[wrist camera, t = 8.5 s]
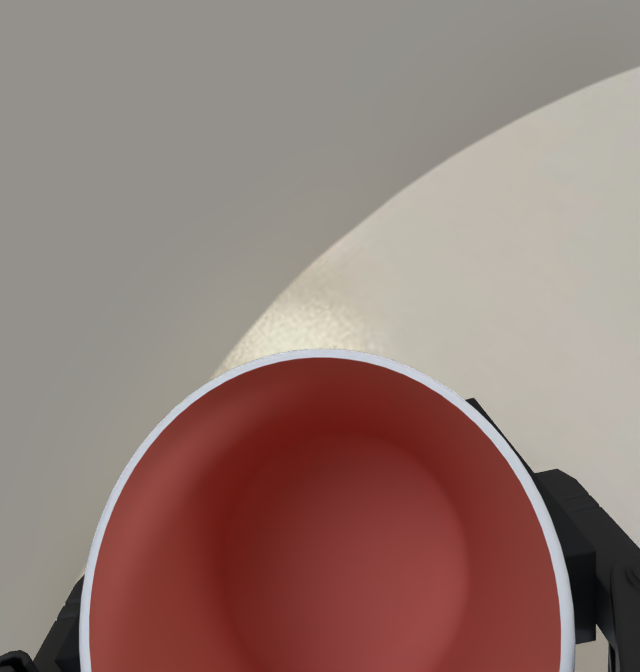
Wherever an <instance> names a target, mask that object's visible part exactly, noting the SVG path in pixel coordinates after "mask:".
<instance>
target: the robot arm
mask: <svg viewBox="0 0 640 672" xmlns="http://www.w3.org/2000/svg"><path fill="white" fill-rule="evenodd" d="M465 401H466V402H468V403H469V404H470V405H471V406H472V407H474V408H475V409H476V410H477V411H478V412H479V413H480V414H481V415H482V416H483V417H484V418H485V419H486V420H487V421H488V422H489V423H490V424H491V425H492V426H493V427H494V428H495V429H496V430H497V431H498V433H499V434H500V435H501V436H502V437H503V438H504V439H505V441H506V442H507V443H508V445H509V446H510V447H511V449H512V450H513V451H514V453H515V454H516V455H517V457H518V458H519V459H520V461H521V463H522V464H523V466H524V467H525V469H526V470H527V472H528V473H529V475H530V477H531V478H532V480H533V482H534V484H535V486H536V488H537V489H538V491H539V493H540V495H541V497H542V499H543V501H544V504H545V506H546V508H547V510H548V512H549V515H550V517H551V520H552V522H553V525H554V528H555V531H556V534H557V537H558V539H559V542H560V545H561V548H562V552H563V556H564V560H565V564H566V568H567V572H568V576H569V582H570V589H571V595H572V601H573V608H574V624H575V640H576V642H575V644H580V643H585V642H590V641H595V640H596V624H597V625H598V627H599V628H600V630H601V631H602V633H603V634H604V636H605V637H606V639H607V640H608V642H609V653H608V672H640V548H639V547H638V546H637V545H636V544H635V543H634V542H633V541H632V540H631V539H630V538H629V537H628V535H627V534H626V533H625V532H624V531H623V530H622V529H621V528H620V527H619V526H618V525H617V524H616V522H615V521H614V520H613V519H612V518H611V517H610V516H609V515H608V514H607V513H606V512H605V511H604V509H603V508H602V507H599V504H598V503H597V502H596V501H595V500H594V499H593V498H592V496H589V494H588V492H587V491H586V490H585V489H584V488H583V487H582V486H581V485H580V483H579V482H578V481H577V480H576V479H575V478H573V477H571V476H569V475H567V474H566V473H564V472H562V471H560V470H559V469H553V470H549V471H544V472H539V473H534V472H533V471H532V470H531V468H530V467H529V466H528V465H527V463H526V462H525V461H524V460H523V458H522V457H521V456H520V455H519V453H518V452H517V451H516V450H515V448H514V447H513V446H512V445H511V443H510V442H509V441H508V440H507V439H506V437H505V436H504V435H503V434H502V432H501V431H500V430H499V429H498V427H497V426H496V425H495V424H494V422H493V421H492V420H491V419H490V417H489V416H488V415H487V414H486V412H485V411H484V410H483V409H482V407H481V406H480V405H479V404H478V402H477V401H476V400H475V399H474V398H471V399H467V400H465ZM84 576H85V574H84ZM84 576H83V577H82V578H81V579H80V580H79V581H78V582H77V583H76V584H75V586H74V588H73V590H72V591H71V593H70V595H69V597H68V599H67V600H66V602H65V603H66V605H65V606H63V608H62V610H61V611H60V613H59V615H58V617H57V621H55V622H54V624H53V626H52V628H51V629H50V631H49V633H48V635H47V637H46V639H45V640H44V642H43V644H42V646H41V648H40V650H39V651H38V653H37V655H36V657H35V659H34V660H33V661H32V659H31V658H30V656H29V655H28V654H27V653H25V652H23V651H21V650H18V651H12V652H8V653H6V654H4V655H2V656H0V672H81V666H80V653H79V622H80V608H81V596H82V589H83V583H84Z"/></svg>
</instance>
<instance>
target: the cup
mask: <svg viewBox="0 0 640 672" xmlns="http://www.w3.org/2000/svg"><path fill="white" fill-rule="evenodd" d="M575 642H576V640H575V624H574V608H573V601H572V595H571V589H570V582H569V576H568V572H567V568H566V564H565V560H564V556H563V552H562V548H561V545H560V542H559V539H558V537H557V534H556V531H555V528H554V525H553V522H552V520H551V517H550V515H549V512H548V510H547V508H546V506H545V504H544V501H543V499H542V497H541V495H540V493H539V491H538V489H537V488H536V486H535V484H534V482H533V480H532V478H531V477H530V475H529V473H528V472H527V470H526V469H525V467H524V466H523V464H522V463H521V461H520V459H519V458H518V457H517V455H516V454H515V453H514V451H513V450H512V449H511V447H510V446H509V445H508V443H507V442H506V441H505V439H504V438H503V437H502V436H501V435H500V434H499V433H498V431H497V430H496V429H495V428H494V427H493V426H492V425H491V424H490V423H489V422H488V421H487V420H486V419H485V418H484V417H483V416H482V415H481V414H480V413H479V412H478V411H477V410H476V409H475V408H474V407H472V406H471V405H470V404H469V403H468V402H466V401H465V400H464V399H463V398H462V397H460V396H459V395H458V394H456V393H455V392H453V391H452V390H450V389H449V388H448V387H446V386H445V385H443V384H442V383H440V382H438V381H436V380H435V379H433V378H431V377H430V376H428V375H426V374H424V373H422V372H420V371H418V370H416V369H414V368H412V367H409V366H407V365H404V364H402V363H399V362H397V361H394V360H391V359H388V358H384V357H381V356H378V355H373V354H369V353H364V352H359V351H352V350H344V349H305V350H294V351H289V352H284V353H278V354H273V355H270V356H267V357H263V358H260V359H256V360H253V361H251V362H248V363H246V364H243V365H241V366H238V367H236V368H234V369H231V370H229V371H228V372H226V373H224V374H222V375H220V376H218V377H216V378H215V379H213V380H211V381H209V382H208V383H206V384H205V385H204V386H202V387H201V388H199V389H198V390H196V391H195V392H193V393H192V394H190V395H189V396H188V397H187V398H186V399H185V400H183V401H182V402H181V403H180V404H178V405H177V406H176V407H175V408H174V409H173V410H172V411H170V412H169V414H168V415H167V416H166V417H165V418H164V419H163V420H162V421H161V422H160V423H159V424H158V425H157V426H156V427H155V428H154V429H153V431H152V432H151V433H150V434H149V435H148V436H147V438H146V439H145V440H144V441H143V443H142V444H141V445H140V446H139V448H138V449H137V451H136V452H135V453H134V455H133V456H132V458H131V460H130V461H129V463H128V464H127V466H126V467H125V469H124V470H123V472H122V474H121V476H120V478H119V479H118V481H117V483H116V485H115V487H114V489H113V491H112V492H111V494H110V497H109V499H108V502H107V504H106V506H105V509H104V511H103V513H102V516H101V518H100V521H99V524H98V527H97V530H96V533H95V536H94V539H93V542H92V545H91V549H90V553H89V557H88V562H87V566H86V570H85V576H84V583H83V589H82V596H81V608H80V622H79V653H80V666H81V672H574V667H575Z"/></svg>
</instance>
